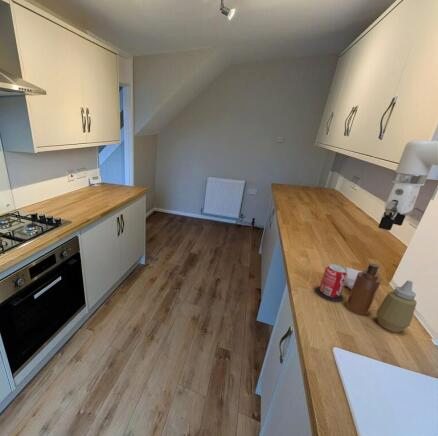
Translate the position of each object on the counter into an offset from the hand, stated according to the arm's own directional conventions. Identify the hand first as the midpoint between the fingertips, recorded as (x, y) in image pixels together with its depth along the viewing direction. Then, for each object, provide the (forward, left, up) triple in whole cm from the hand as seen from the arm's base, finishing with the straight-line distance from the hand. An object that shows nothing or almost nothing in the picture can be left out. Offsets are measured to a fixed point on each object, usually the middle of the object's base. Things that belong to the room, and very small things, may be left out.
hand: (389, 226), depth 85 cm
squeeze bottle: (-12, +11, -31) cm, 35 cm away
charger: (+4, -4, -31) cm, 31 cm away
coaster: (+7, +11, -30) cm, 33 cm away
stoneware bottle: (-2, +11, -30) cm, 32 cm away
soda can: (+7, +11, -30) cm, 33 cm away
